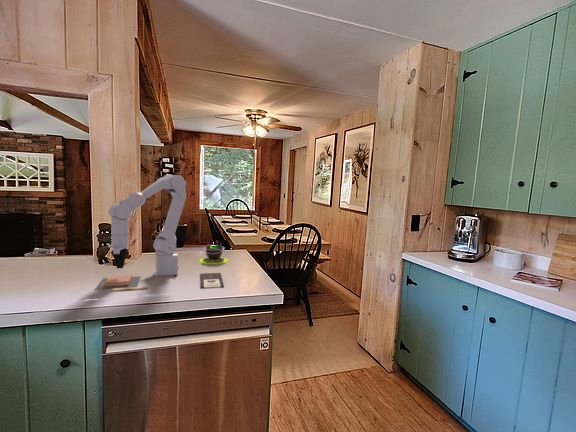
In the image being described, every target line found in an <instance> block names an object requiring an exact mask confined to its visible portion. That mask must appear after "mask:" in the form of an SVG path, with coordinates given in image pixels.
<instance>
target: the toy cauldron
mask: <svg viewBox="0 0 576 432" xmlns="http://www.w3.org/2000/svg"><path fill="white" fill-rule="evenodd" d="M218 241H219V240H217V243H218V244H219V242H218ZM218 244H215V245H214V244H209V243H207V245H208V246H204V247H203V248H202V249H203V251H204V252H205V255H206V257H202V258H200V259H199V260H198V261H199V263H201V264H205V265H222V264H226V263H228V262H229V259H228V258H226V257H222V255H223V252H224V251H225V250H224V249H226V247H224V246H221V245H222V243H221V242H220V245H218Z"/></svg>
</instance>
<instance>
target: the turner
mask: <svg viewBox="0 0 576 432" xmlns="http://www.w3.org/2000/svg"><path fill="white" fill-rule="evenodd" d="M148 289H149V286H137V287H130V288H114V289H110V290H111V291H110V292H112V293H113V292H123V291H124V292H125V291H140V290H141V291H143V290H148Z"/></svg>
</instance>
